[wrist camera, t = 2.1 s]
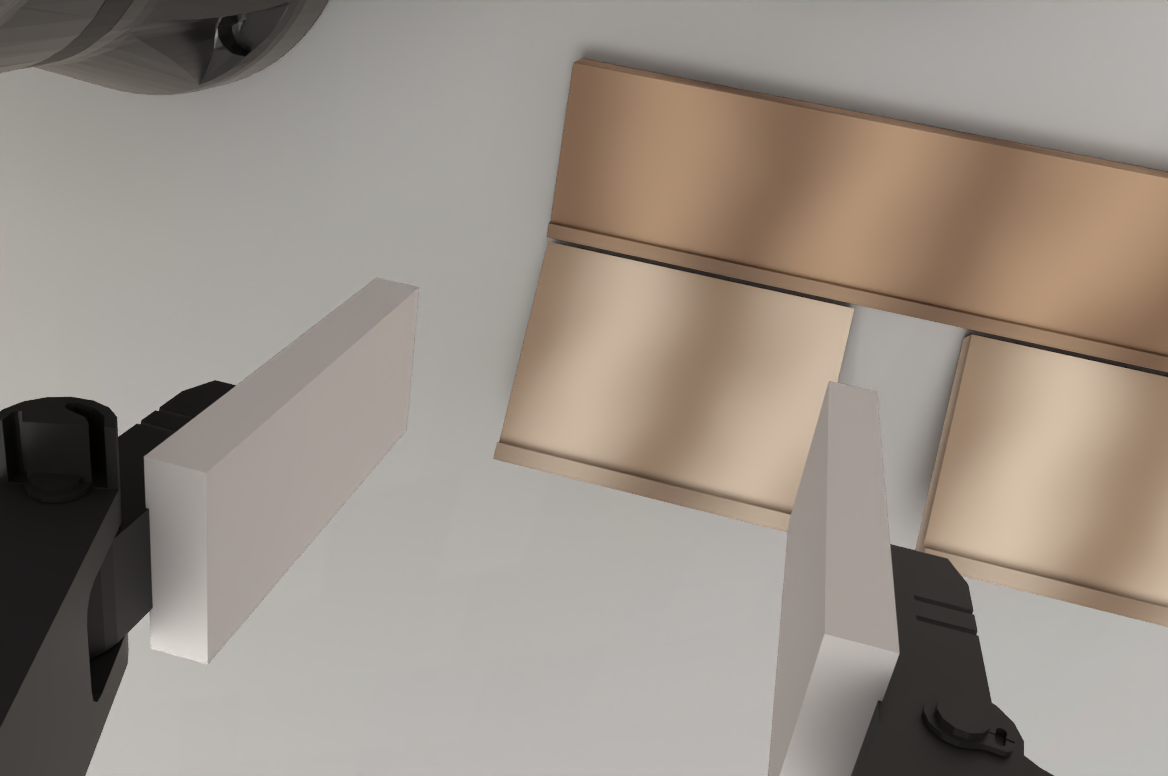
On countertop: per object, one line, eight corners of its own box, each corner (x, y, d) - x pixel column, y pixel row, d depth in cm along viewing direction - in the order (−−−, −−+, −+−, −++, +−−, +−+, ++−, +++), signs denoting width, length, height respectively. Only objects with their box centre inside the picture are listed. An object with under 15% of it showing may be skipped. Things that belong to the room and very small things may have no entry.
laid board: (557, 225, 38) (547, 237, 37) (581, 58, 36) (571, 64, 34) (1303, 387, 35) (1322, 406, 34) (1390, 215, 32) (1415, 227, 31)
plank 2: (912, 561, 36) (921, 565, 35) (963, 338, 37) (974, 333, 35) (1243, 643, 35) (1267, 651, 33) (1294, 410, 35) (1319, 408, 34)
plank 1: (501, 458, 38) (493, 458, 37) (553, 248, 39) (546, 239, 37) (798, 532, 37) (802, 535, 35) (849, 313, 37) (855, 307, 36)
